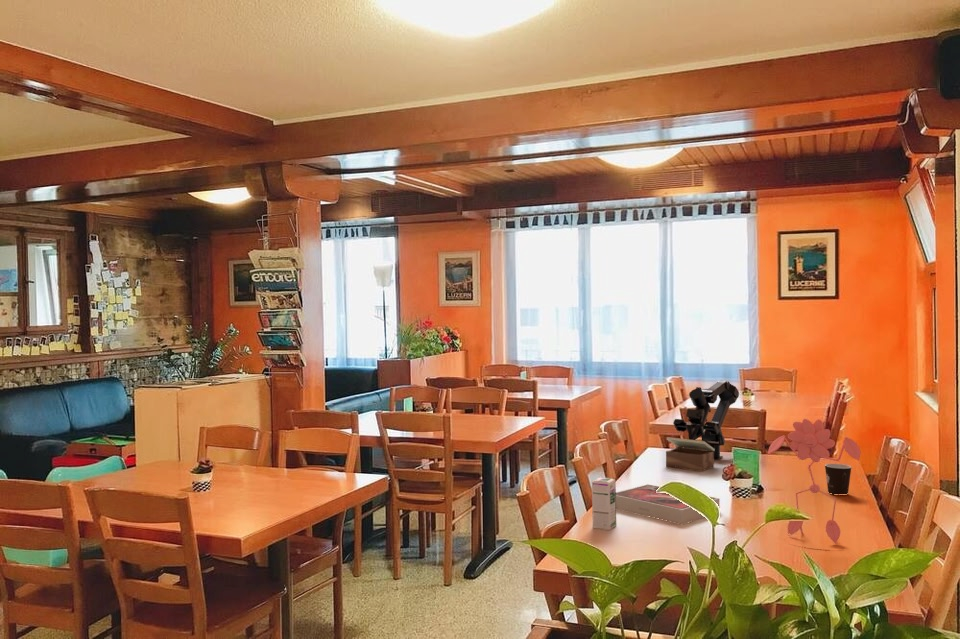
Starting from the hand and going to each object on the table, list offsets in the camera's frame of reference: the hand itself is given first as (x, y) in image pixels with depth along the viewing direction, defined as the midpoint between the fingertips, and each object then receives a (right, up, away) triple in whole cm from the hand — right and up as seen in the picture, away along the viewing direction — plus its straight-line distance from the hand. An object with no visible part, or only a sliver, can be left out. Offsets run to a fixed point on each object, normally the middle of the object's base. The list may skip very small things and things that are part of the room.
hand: (690, 442), depth 320 cm
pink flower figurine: (+5, -11, -106) cm, 106 cm away
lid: (0, -1, 0) cm, 1 cm away
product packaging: (-28, -12, -70) cm, 77 cm away
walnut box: (0, -10, 0) cm, 10 cm away
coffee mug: (+39, -11, -51) cm, 64 cm away
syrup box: (-51, -11, -90) cm, 104 cm away
